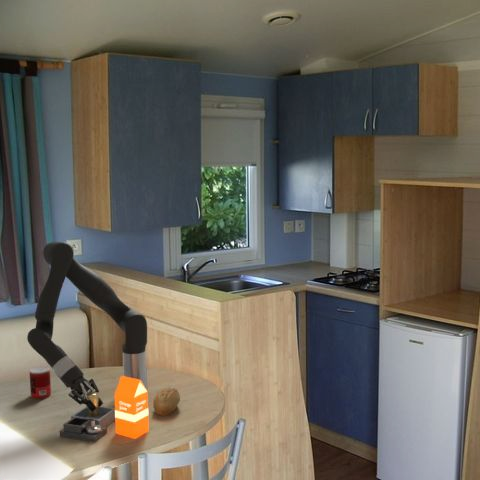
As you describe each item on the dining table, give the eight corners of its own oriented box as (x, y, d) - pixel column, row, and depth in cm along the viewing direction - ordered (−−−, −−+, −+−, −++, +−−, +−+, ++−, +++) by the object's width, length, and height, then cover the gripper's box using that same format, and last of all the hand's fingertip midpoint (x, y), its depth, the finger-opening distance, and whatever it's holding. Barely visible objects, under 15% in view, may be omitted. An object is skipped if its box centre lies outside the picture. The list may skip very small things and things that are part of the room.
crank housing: (72, 427, 258) (71, 411, 257) (106, 432, 253) (106, 416, 252) (59, 436, 251) (58, 419, 250) (94, 442, 246) (93, 424, 245)
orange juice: (134, 439, 248) (133, 383, 245) (115, 433, 253) (113, 378, 250) (149, 431, 255) (147, 376, 252) (130, 425, 259) (128, 372, 256)
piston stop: (91, 412, 264) (90, 391, 263) (101, 413, 263) (100, 392, 262) (85, 416, 260) (84, 395, 259) (95, 417, 259) (94, 396, 258)
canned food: (54, 393, 292) (53, 367, 291) (43, 400, 285) (42, 373, 283) (38, 391, 295) (37, 365, 293) (27, 398, 287) (25, 371, 286)
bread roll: (183, 402, 281) (182, 383, 280) (176, 417, 266) (175, 397, 265) (159, 402, 282) (158, 382, 281) (150, 417, 267) (149, 396, 266)
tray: (89, 415, 269) (88, 404, 269) (116, 418, 265) (115, 408, 265) (71, 426, 259) (71, 416, 258) (99, 431, 255) (99, 420, 254)
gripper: (62, 371, 255) (93, 408, 253) (84, 359, 268) (114, 394, 266) (50, 384, 258) (81, 420, 255) (72, 371, 271) (102, 406, 268)
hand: (97, 407), depth 260 cm, fingers closed on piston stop, 4 cm apart
